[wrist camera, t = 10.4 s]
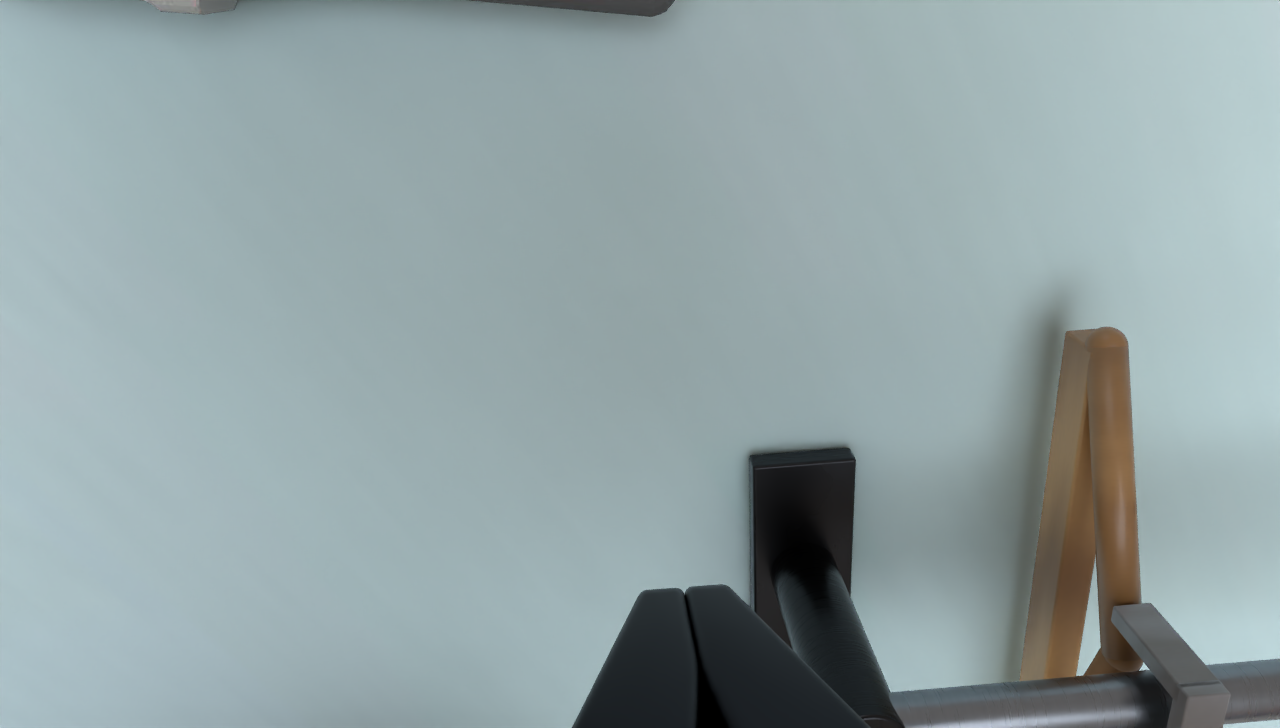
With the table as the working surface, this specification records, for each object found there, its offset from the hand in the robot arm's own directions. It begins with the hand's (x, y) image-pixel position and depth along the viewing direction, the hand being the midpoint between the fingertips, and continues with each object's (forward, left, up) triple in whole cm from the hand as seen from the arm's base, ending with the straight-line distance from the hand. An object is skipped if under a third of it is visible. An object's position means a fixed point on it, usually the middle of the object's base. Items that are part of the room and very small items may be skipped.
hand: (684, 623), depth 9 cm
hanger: (-8, -10, -12) cm, 17 cm away
